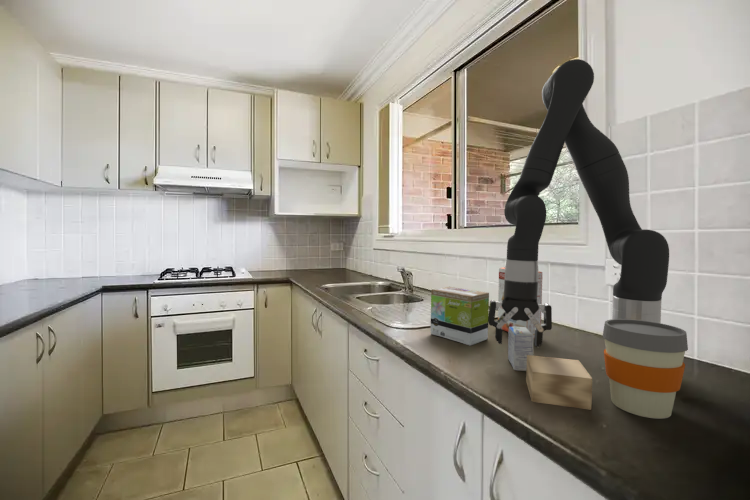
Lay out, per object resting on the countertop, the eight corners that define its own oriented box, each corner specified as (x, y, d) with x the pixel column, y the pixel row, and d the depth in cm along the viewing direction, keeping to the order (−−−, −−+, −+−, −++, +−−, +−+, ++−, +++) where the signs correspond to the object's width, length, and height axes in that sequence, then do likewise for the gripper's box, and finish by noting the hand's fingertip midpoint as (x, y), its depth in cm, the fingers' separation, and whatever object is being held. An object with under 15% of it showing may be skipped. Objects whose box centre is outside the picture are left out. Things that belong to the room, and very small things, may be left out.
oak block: (577, 388, 74) (578, 360, 74) (591, 410, 64) (592, 378, 64) (526, 382, 77) (526, 354, 77) (531, 402, 67) (532, 371, 67)
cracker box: (496, 328, 120) (497, 267, 119) (511, 327, 122) (512, 266, 121) (525, 340, 107) (527, 271, 106) (541, 338, 109) (543, 271, 108)
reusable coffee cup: (592, 405, 66) (595, 326, 65) (609, 385, 75) (611, 315, 74) (680, 432, 57) (685, 341, 56) (687, 406, 66) (691, 327, 65)
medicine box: (533, 372, 82) (534, 335, 82) (513, 370, 83) (514, 334, 82) (526, 360, 90) (526, 326, 89) (507, 359, 91) (508, 325, 90)
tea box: (429, 335, 112) (429, 288, 111) (448, 329, 119) (449, 285, 118) (470, 346, 101) (471, 295, 100) (489, 339, 107) (490, 291, 107)
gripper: (548, 278, 88) (545, 342, 89) (488, 275, 91) (486, 337, 92) (557, 282, 80) (553, 352, 81) (492, 279, 84) (489, 346, 84)
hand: (517, 344), depth 86 cm, fingers open, 8 cm apart
